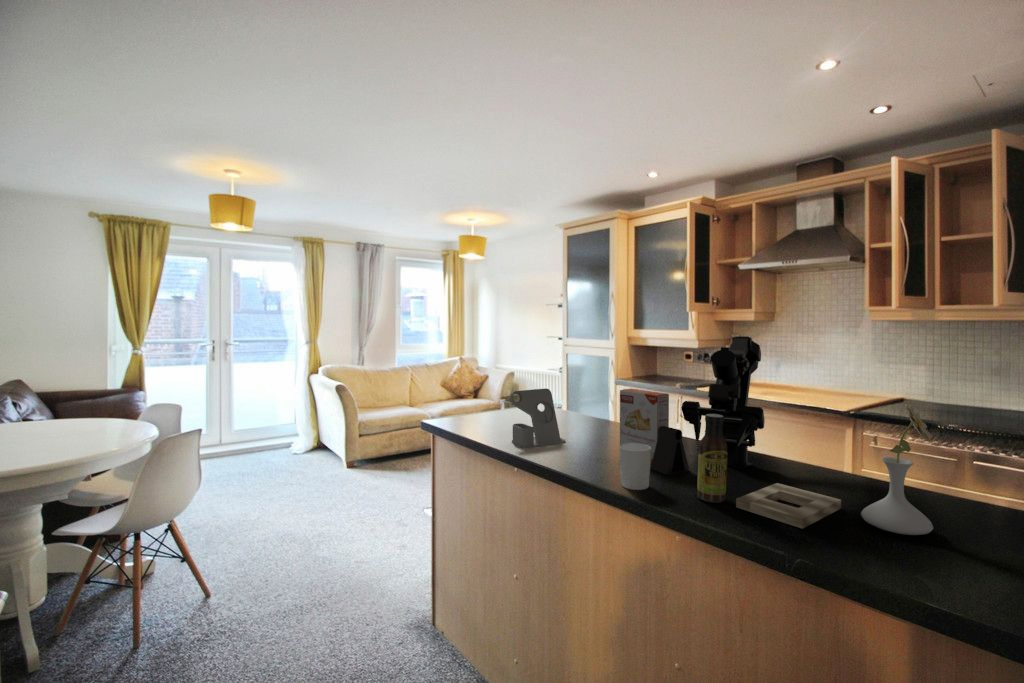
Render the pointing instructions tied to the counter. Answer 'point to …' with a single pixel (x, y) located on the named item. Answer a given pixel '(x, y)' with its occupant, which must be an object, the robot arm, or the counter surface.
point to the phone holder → (536, 419)
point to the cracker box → (642, 416)
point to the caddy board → (800, 517)
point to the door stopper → (669, 452)
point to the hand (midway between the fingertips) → (716, 442)
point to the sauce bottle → (712, 461)
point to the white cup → (635, 465)
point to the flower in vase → (899, 491)
